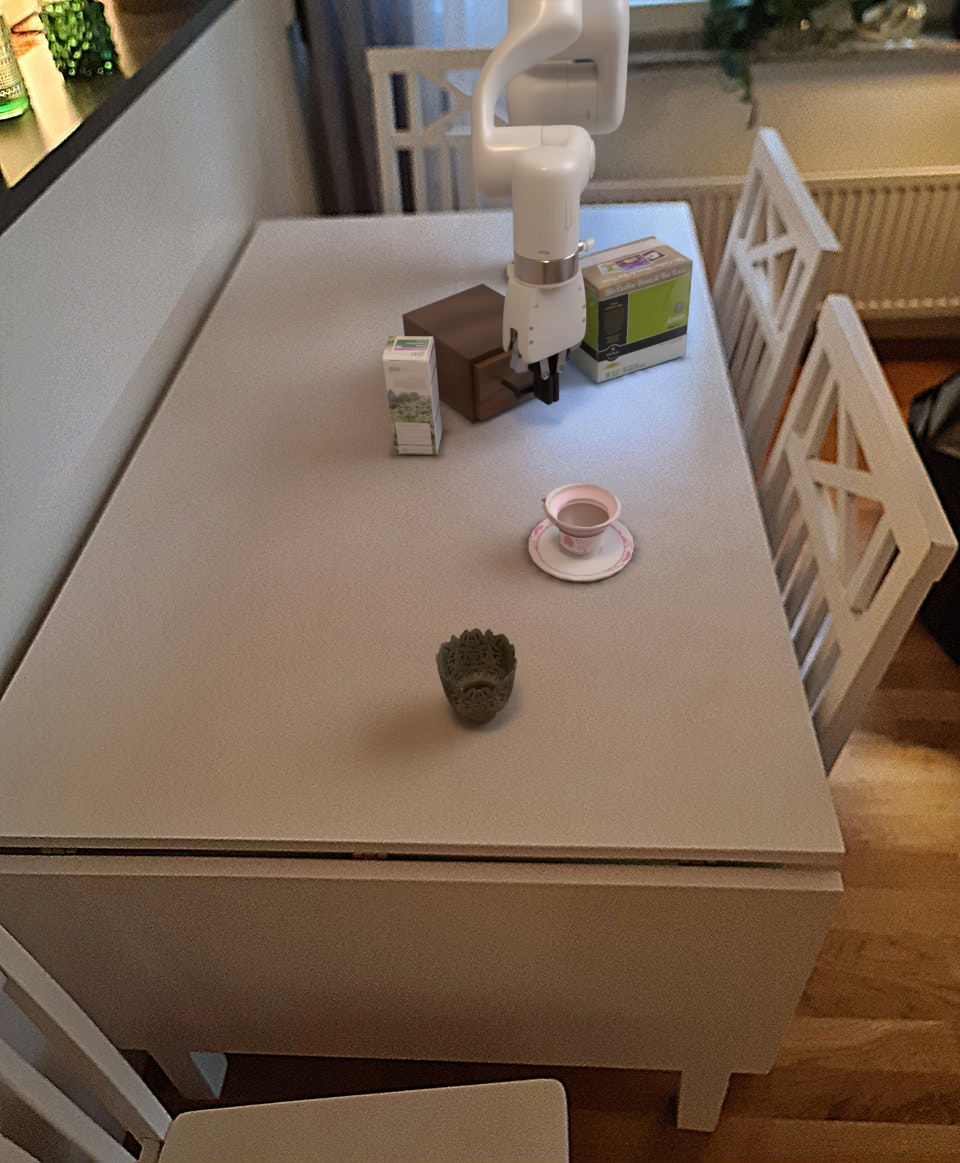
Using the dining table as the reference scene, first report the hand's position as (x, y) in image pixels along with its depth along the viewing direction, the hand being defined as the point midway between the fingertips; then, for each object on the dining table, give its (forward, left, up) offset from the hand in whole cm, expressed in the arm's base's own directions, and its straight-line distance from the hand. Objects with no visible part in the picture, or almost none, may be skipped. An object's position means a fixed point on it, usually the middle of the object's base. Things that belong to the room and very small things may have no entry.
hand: (546, 398), depth 123 cm
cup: (+35, +33, -5) cm, 48 cm away
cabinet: (0, -15, -5) cm, 16 cm away
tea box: (-20, -7, -5) cm, 22 cm away
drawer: (0, -11, -4) cm, 12 cm away
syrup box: (+15, -8, -5) cm, 18 cm away
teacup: (+12, +21, -5) cm, 25 cm away
